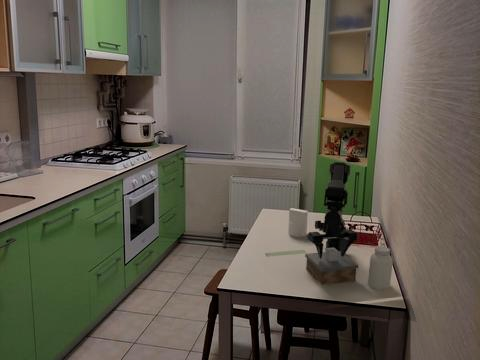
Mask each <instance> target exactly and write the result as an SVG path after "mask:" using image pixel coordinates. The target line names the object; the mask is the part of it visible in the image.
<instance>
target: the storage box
mask: <svg viewBox="0 0 480 360" xmlns="http://www.w3.org/2000/svg"><path fill="white" fill-rule="evenodd" d="M305 269H306V271H307V272H308V273H309V274H310V275H311V276H312V277H313V278H314V279H315V280H316V281H318V283H319V284H320V285H327V284H328V285H329V284H338V283H347V282H348V283H349V282H356V278H357V277H356V275H357V268H356V269H346V270H336V271H325V272H321V271H320V270H319V269H318V268H317V267H316V266H315V265H314V264H313V263H311V262H310V261H309V260H308V259H307V258H306V266H305Z"/></svg>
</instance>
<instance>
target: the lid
mask: <svg viewBox="0 0 480 360" xmlns="http://www.w3.org/2000/svg"><path fill="white" fill-rule="evenodd" d="M325 248H326V247H325ZM304 255H305V256H304V257H305V258H306V260H307V259H308V260H309V261H310V262H311V263H313V264H314V265H315V266H316V267H317V268H318V269H319V270H320V271H321V272H325V271H336V270H346V269H356V270H357V269H359V264H358V263H356V262H355V261H353V260H352V259H351V258H350V257H349V256H347V255H346V254H345V255H344V256H343V257H342V256H341V251H338V250H336V249H335V248H326V250H325V251H323V253H322V258H321V259H320V258H319V255H318V252H311V253H309V252H308V253H304Z"/></svg>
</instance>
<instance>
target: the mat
mask: <svg viewBox="0 0 480 360" xmlns="http://www.w3.org/2000/svg"><path fill="white" fill-rule="evenodd" d="M264 254H265V255H266V256H267V257H268V258H269V257H278V256H291V255H302V254H304V255H305V254H308V252H307V251H306V250H305V249H299V250H298V249H297V250H285V251H274V252H273V251H272V252H271V251H270V252H265V253H264Z"/></svg>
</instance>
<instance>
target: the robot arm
mask: <svg viewBox="0 0 480 360" xmlns="http://www.w3.org/2000/svg"><path fill="white" fill-rule="evenodd" d="M328 171H329V173H328V174H329V175H330V182H328V183H327V187H326V188H325V192H324V200H323V207H324V206H326V211H325V215H324V220H323V222H322V220H315V221H314V229H316V230H319V231H309V232H308V233H307V235H306V236H307V237H306V238H307V240H308V241H309V242H310V243H312V245H314V246H315V247H316V248H315V249H316V251H317V252H316V253H318V255H319V258H320V259H321V258H322V253H323V252H324V250H325V251H326V248H335V249H336V250H338V251H341V256H342V257H343V256H344V255H346V253H347V251H348V250H349V248H350V247H351V246H352V245H353V243H355V242H356V241H359V240H358V239H359V235H358V232H356V231H355V230H354V229H351V228H349V229H347V228H346V226H345V223H346V222H345V220H344V218H343V208H346V205H348V198H349V197H348V196H349V192H348V191H347V189H346V183H347V182H348V179H349V177H350V176H351V165H349V164H347V163H346V162H343V161H335V162H333V163H331V164H329V170H328ZM320 232H322V233H320ZM324 240H326V242H325V248H324V243H323V242H324Z"/></svg>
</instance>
